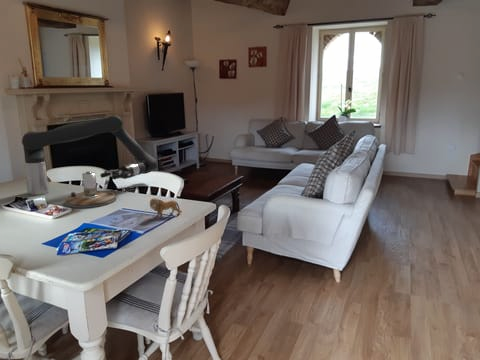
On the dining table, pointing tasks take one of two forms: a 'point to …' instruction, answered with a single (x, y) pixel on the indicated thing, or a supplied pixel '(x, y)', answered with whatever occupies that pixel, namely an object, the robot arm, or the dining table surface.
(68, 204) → the turntable base
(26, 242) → the dining table surface
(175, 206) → the lion figurine
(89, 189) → the canister
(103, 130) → the robot arm
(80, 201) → the turntable
